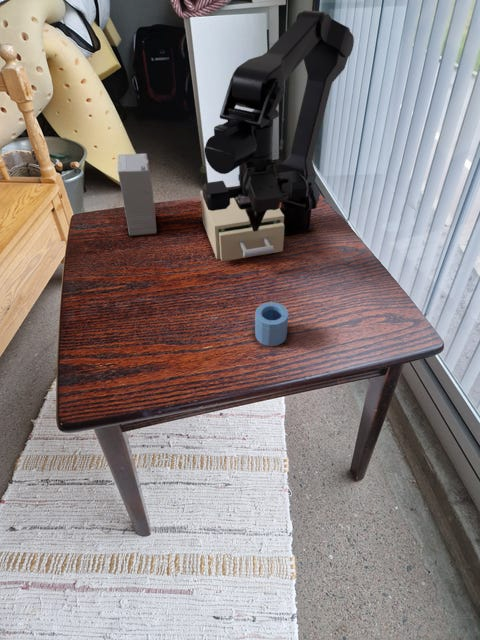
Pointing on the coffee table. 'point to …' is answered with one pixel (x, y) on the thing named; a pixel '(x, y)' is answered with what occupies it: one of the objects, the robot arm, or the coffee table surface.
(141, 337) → the coffee table surface
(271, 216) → the cabinet
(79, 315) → the coffee table surface
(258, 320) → the jar
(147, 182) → the cosmetic box
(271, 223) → the drawer
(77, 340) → the coffee table surface
